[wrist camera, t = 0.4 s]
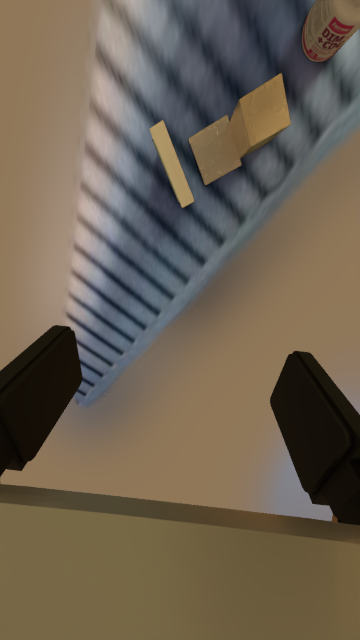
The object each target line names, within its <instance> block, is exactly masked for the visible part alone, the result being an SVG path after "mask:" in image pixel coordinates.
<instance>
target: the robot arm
mask: <svg viewBox="0 0 360 640" xmlns="http://www.w3.org/2000/svg"><path fill="white" fill-rule="evenodd" d="M81 382H82V372H81V366H80V360H79V355H78V349H77V343H76V337H75V332H74V331H73V330H71V328H70V327H68V326H58V325H55V326H53V327H51V328H50V329H49V330H48V331H47V332H45V333H44V334H43V335H42V336H41V337H40V338H38V339H37V340H36V341H35V342H34V343H33V344H32V345H30V346H29V347H28V348H27V349H26V350H24V351H23V352H22V353H21V354H20V355H19V356H18V357H16V358H15V359H14V360H13V361H12V362H10V363H9V364H8V365H7V366H6V367H4V368H3V369H2V370H1V371H0V476H1V475H2V473H3V472H4V471H5V469H9V470H18V471H22V469H23V468H24V466H25V465H26V463H27V462H28V461H31V460H32V459H33V458H34V457H35V456H36V454H37V452H38V451H39V449H40V448H41V446H42V445H43V443H44V442H45V440H46V438H47V437H48V435H49V434H50V432H51V430H52V429H53V427H54V426H55V424H56V422H57V421H58V419H59V418H60V416H61V415H62V413H63V412H64V410H65V408H66V407H67V405H68V404H69V402H70V400H71V399H72V397H73V396H74V394H75V393H76V391H77V389H78V388H79V386H80V385H81ZM270 404H271V407H272V410H273V412H274V415H275V418H276V420H277V423H278V425H279V428H280V430H281V433H282V436H283V438H284V441H285V444H286V446H287V449H288V451H289V454H290V456H291V459H292V462H293V464H294V467H295V470H296V472H297V475H298V477H299V479H300V482H301V485H302V487H303V489H304V491H305V492H307V493H308V494H309V496H310V499H311V501H312V504H319V505H329V506H330V508H331V510H332V512H333V517H332V521H331V522H330V521H323V520H316V519H309V518H301V517H292V516H284V515H275V514H267V513H258V512H250V511H242V510H234V509H225V508H217V507H208V506H199V505H190V504H181V503H173V502H164V501H155V500H145V499H137V498H128V497H120V496H110V495H101V494H91V493H82V492H72V491H64V490H54V489H45V488H36V487H27V486H16V485H15V486H14V485H4V484H0V640H360V415H359V413H358V412H357V411H356V410H355V408H354V407H353V406H352V405H351V403H350V402H349V401H348V400H347V398H346V397H345V396H344V394H343V393H342V392H341V391H340V389H339V388H338V387H337V386H336V384H335V383H334V382H333V381H332V379H331V378H330V377H329V376H328V374H327V373H326V372H325V371H324V369H323V368H322V367H321V365H320V364H319V363H318V362H317V360H316V359H315V358H314V357H313V355H312V354H311V353H308V352H300V351H294V352H293V353H292V354H289V355H288V357H287V359H286V362H285V364H284V367H283V369H282V371H281V374H280V376H279V379H278V381H277V383H276V386H275V388H274V390H273V393H272V395H271V398H270Z"/></svg>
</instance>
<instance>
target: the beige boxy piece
mask: <svg viewBox="0 0 360 640" xmlns="http://www.w3.org/2000/svg"><path fill="white" fill-rule="evenodd" d="M290 124H291V122H290V117H289V111H288V106H287V100H286V95H285V89H284V84H283V79H282V73H280V74H279V75H277V76H276V77H274V78H272V79H271V80H269V81H268V82H266V83H264V84H263V85H261V86H260V87H258V88H257V89H255V90H253V91H252V92H250V93H249V94H247V95H246V96H244V97H242V98H241V99H239V101H238V104H237V106H236V108H235V111H234V113H233V115H232V118H231V120H230V122H229V118H228V115H226V116H224V117H222V118H221V119H219V120H218V121H216V122H214V123H213V124H211V125H210V126H208V127H206V128H205V129H203V130H202V131H200V132H198V133H197V134H195V135H194V136H192V137H190V138H189V142H190V145H191V148H192V151H193V153H194V156H195V159H196V162H197V165H198V167H199V170H200V173H201V176H202V179H203V181H204V184H205V185H207V184H209V183H211V182H212V181H214V180H216V179H218V178H220V177H221V176H223V175H225V174H227V173H229V172H230V171H232V170H234V169H236V168H238V167H240V166H241V165H242V164H241V161H240V158H242V157H244V156H246V155H247V154H249V153H251V152H253V151H254V150H256V149H258V148H260V147H262V146H263V145H265V144H267V143H269V142H270V141H271V140H272V139H274V138H275V137H276V136H277V135H278V134H280V133H281V132H282V131H283V130H284V129H286V128H287V127H288V126H289V125H290Z"/></svg>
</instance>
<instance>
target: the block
mask: <svg viewBox="0 0 360 640" xmlns="http://www.w3.org/2000/svg"><path fill="white" fill-rule="evenodd" d="M149 130H150V132H151V134H152V137H153V139H152V140H153V143H154V145H155V148H156V150H157V152H158V155H159V157H160V160H161V162H162V164H163V167H164V169H165V171H166V174H167V176H168V179H169V181H170V183H171V186H172V188H173V190H174V193H175V195H176V198H177V200H178V202H179V203H180V204H181V206H182V208H183V207H186V206H188V205H190V204H191V203H193V202H194V199H193V196H192V194H191V191H190V188H189V186H188V183H187V181H186V178H185V176H184V173H183V170H182V168H181V165H180V163H179V160H178V158H177V155H176V152H175V150H174V147H173V145H172V142H171V140H170V137H169V134H168V132H167V129H166V127H165V124H164V122H163V120H162V121H161V122H159V123H158V124H156V125H155V126H153V127H152V128H150V129H149Z"/></svg>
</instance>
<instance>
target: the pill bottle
mask: <svg viewBox="0 0 360 640" xmlns="http://www.w3.org/2000/svg"><path fill="white" fill-rule="evenodd" d="M359 28H360V0H316V2H315V3H314V5H313V7H312V8H311V10H310V12H309V14H308V16H307V18H306V21H305V24H304V27H303V33H302V47H303V50H304V53H305V55H306V56H307V57H308V58H309V59H310V60H312V61H314V62H322V61H325V60H327V59H329V58H330V57H332V56H333V55H334V54H335V53H336V52H337V51H338V50H339V49H340V48H341V47H342V46H343V45H344V44H345V43H346V41H347V40H348V39H349V38H350V37H351V36H352V35H353V34H354V33H355V32H356V31H357V30H358V29H359Z"/></svg>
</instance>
